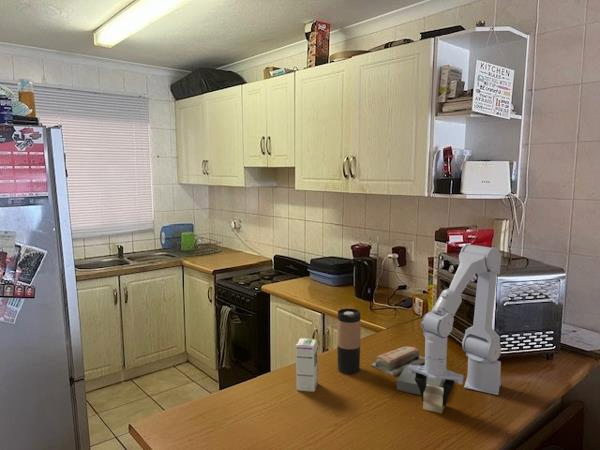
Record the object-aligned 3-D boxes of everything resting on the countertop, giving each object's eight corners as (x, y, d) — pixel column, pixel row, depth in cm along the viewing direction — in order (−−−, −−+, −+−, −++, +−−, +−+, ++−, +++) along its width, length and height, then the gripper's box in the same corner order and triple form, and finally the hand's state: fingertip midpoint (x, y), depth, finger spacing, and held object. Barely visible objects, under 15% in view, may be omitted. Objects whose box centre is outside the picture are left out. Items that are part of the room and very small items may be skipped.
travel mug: (345, 362, 150) (345, 306, 148) (364, 368, 145) (365, 311, 143) (332, 370, 144) (332, 312, 142) (352, 377, 139) (352, 317, 137)
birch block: (444, 405, 122) (445, 388, 121) (441, 413, 117) (442, 396, 117) (426, 400, 124) (427, 384, 124) (423, 409, 120) (423, 392, 119)
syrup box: (314, 392, 129) (314, 345, 128) (295, 390, 131) (295, 344, 129) (317, 383, 135) (317, 338, 133) (299, 381, 136) (299, 337, 135)
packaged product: (393, 363, 139) (370, 353, 147) (393, 377, 139) (370, 367, 147) (427, 349, 150) (404, 341, 158) (426, 362, 151) (403, 353, 158)
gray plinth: (444, 381, 136) (445, 372, 135) (437, 398, 125) (437, 389, 125) (406, 373, 141) (406, 364, 141) (396, 389, 131) (396, 380, 130)
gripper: (405, 356, 119) (404, 402, 121) (461, 366, 112) (459, 415, 114) (412, 347, 125) (410, 391, 127) (465, 356, 118) (463, 403, 120)
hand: (434, 402), depth 121 cm, fingers closed on birch block, 5 cm apart
